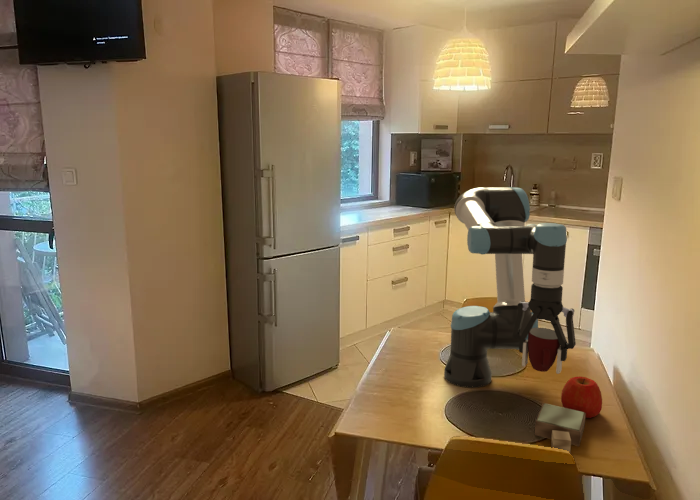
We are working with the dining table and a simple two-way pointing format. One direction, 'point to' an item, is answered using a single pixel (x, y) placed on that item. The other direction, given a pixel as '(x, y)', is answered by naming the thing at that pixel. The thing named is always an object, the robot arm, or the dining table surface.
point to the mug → (542, 348)
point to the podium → (560, 422)
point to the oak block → (561, 440)
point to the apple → (582, 396)
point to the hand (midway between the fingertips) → (541, 367)
